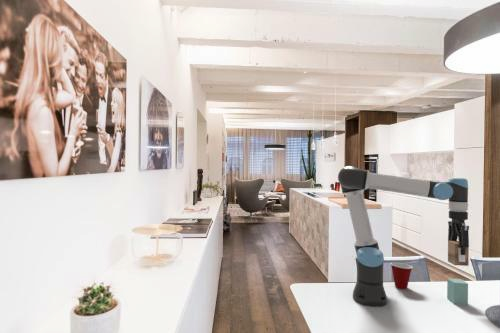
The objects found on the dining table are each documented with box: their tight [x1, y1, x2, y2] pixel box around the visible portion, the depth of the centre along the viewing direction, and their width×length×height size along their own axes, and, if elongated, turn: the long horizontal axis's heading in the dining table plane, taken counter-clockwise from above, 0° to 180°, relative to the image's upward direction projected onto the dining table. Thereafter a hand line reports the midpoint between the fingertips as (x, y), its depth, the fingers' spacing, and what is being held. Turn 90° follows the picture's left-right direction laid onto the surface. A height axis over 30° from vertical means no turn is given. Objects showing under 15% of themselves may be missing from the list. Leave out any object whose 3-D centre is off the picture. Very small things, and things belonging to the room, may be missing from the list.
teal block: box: [446, 277, 469, 306], centre depth 143 cm, size 6×6×10 cm
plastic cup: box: [390, 262, 414, 290], centre depth 161 cm, size 11×11×12 cm
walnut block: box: [447, 240, 470, 267], centre depth 144 cm, size 6×6×10 cm
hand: (457, 259), depth 143 cm, fingers closed on walnut block, 6 cm apart
